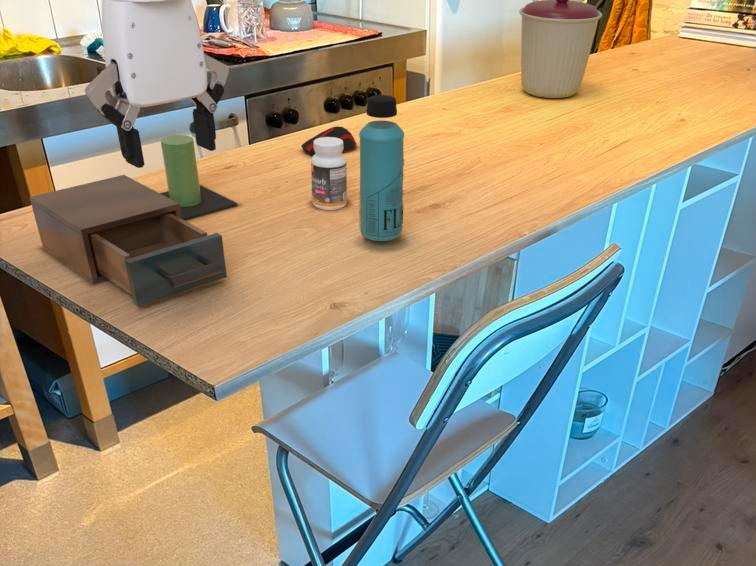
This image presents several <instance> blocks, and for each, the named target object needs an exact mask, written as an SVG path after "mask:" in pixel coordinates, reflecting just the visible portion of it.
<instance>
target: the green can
mask: <svg viewBox="0 0 756 566" xmlns="http://www.w3.org/2000/svg"><path fill="white" fill-rule="evenodd" d="M160 145H161V152H162V153H161V154H162V159H163V165H164V166H163V167H164V173H165V178H166V184H167V190H168V191H169V198H170V199H171V200H173V201H175V202H177V203H179V204H180V207H189V206H194V205H197V204H199V203H201V193H200V185H201V184H200V177H199V171H198V163H197V156H196V155H197V154H196V148H195V141H194V137H193V136H190V135H186V134H173V135H167V136H164V137H162V138H161V139H160Z"/></svg>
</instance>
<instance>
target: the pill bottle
mask: <svg viewBox="0 0 756 566" xmlns="http://www.w3.org/2000/svg"><path fill="white" fill-rule="evenodd" d="M313 146H314V151H315V155H314V156H311V160H310V171H311V201H312V205H313V206H314V207H315V208H317V209H320V210H324V211H334V210H340V209H342V208H344V207H345V206H346V205H347V203H348V182H347V181H348V180H347V176H348V175H347V174H348V173H347V172H348V171H347V162H348V161H347V158H346V156H345V155H344V153H342V151H343V149H344V148H343V141H342V140H341V139H339V138H335V137H321V138H317V139H315V140H314V144H313Z"/></svg>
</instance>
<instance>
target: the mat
mask: <svg viewBox="0 0 756 566" xmlns="http://www.w3.org/2000/svg"><path fill="white" fill-rule="evenodd" d="M199 185H200V193H201V203H199V204H197V205H194V206H189V207H180V211H181V218H182V219H183V220H185V221H189V220H193V219H197V218H200V217H203V216H206V215H211V214H214V213H217V212H221V211H225V210H228V209H232V208H236V207H238V202H236V201H234V200H231V199H230V198H228V197H225V196H223V195H221V194H220V193H217V192H215V191H213V190H211V189H209V188H207V187H205V186H204V185H201V184H199ZM159 193H160V194H162V195H164V196H166V197H168V198H169V191H164V192H159ZM169 199H170V198H169Z"/></svg>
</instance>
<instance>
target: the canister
mask: <svg viewBox="0 0 756 566" xmlns="http://www.w3.org/2000/svg"><path fill="white" fill-rule="evenodd" d="M518 12H519V15H520V16H521V31H520V32H521V34H520V35H521V36H520V37H521V38H520V39H521V40H520V41H521V42H520V44H521V45H520V80H521V86H522V89H523V90H524V91H525V92H526V93H527V94H529V95H530V96H533V97H538V98H544V99H563V98H568V97H572V96H574V95H575V94H576V93H578V91H579V89H580V88H581V85H582V83H583V79H584V76H585V73H586V70H587V65H588V61H589V58H590V54H591V49H592V47H593V43H594V38H595V34H596V31H597V27H598V22H599V20H600V19H601V18H602V16H603V13H602V12H601V11H600V10H598V8H597V7H596V6H594V5H593V4H590V3H588V2H582V1H577V0H536V1H535V0H534V1H531V2H529V3H527V4H526V5H524V7H521V8H520V9H519V11H518Z"/></svg>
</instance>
